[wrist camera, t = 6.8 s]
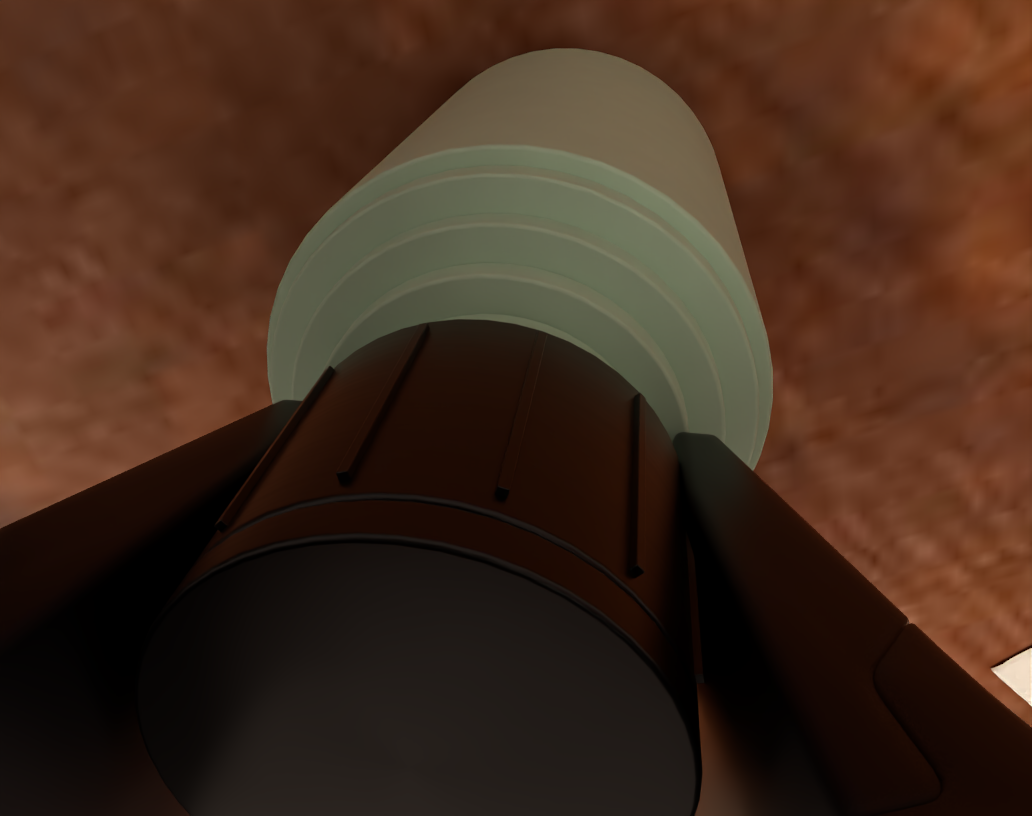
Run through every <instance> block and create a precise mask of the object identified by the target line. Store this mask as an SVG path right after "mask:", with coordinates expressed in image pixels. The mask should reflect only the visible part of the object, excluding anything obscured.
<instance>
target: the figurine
mask: <svg viewBox="0 0 1032 816" xmlns="http://www.w3.org/2000/svg"><path fill="white" fill-rule="evenodd" d="M1020 656H1021V657H1020ZM991 669H992V671H993V672H994V673H995V674H996V675H997V676H998V677H999V678H1000V679H1001V680H1003V681H1004V682H1005V683H1006V684H1007V685H1008V686H1009V687H1010V688H1012V689H1013V690H1014V691H1015V692H1016V693H1017V694H1018V695H1020V696H1021V697H1022V698H1023V699H1024V700H1025V701H1027V702H1028V703H1029V704H1030V706H1032V648H1030V649H1028V650H1026V651H1024V652H1022V654H1021V653H1020V654H1018V655H1017V656H1015V657H1013V658H1011V659H1009V660H1008V661H1006V662H1005V663H1003V664H1002V665H999V666H997V667H994V668H991Z"/></svg>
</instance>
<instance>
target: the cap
mask: <svg viewBox="0 0 1032 816" xmlns="http://www.w3.org/2000/svg"><path fill="white" fill-rule="evenodd" d="M214 527H215V528H216V529H218V530H217V531H216V533H215V534H214V536H213V537H212V538H211V540H210V541H209V543H208V544H207V546H206V547H205V548H204V550H203V551H202V553H201V554H200V556H199V557H198V558H197V560H196V561H195V563H194V564H193V566H192V567H191V569H190V570H189V572H188V573H187V574H186V576H185V577H184V578H183V580H182V581H181V583H180V584H179V586H178V587H177V588H176V590H175V591H174V593H173V594H172V595H171V597H170V598H169V600H168V601H167V603H166V604H165V606H164V607H163V608H162V610H161V611H160V613H159V614H158V616H157V617H156V619H155V620H154V622H153V623H152V625H151V626H150V628H149V631H148V633H147V635H146V638H145V640H144V643H143V645H142V647H141V650H140V654H139V659H138V664H137V670H136V675H135V708H136V713H137V719H138V724H139V730H140V732H141V735H142V738H143V741H144V744H145V746H146V749H147V752H148V755H149V756H150V758H151V760H152V762H153V764H154V766H155V768H156V770H157V771H158V773H159V775H160V777H161V779H162V780H163V782H164V783H165V784H166V786H167V787H168V789H169V790H170V791H171V793H172V794H173V796H174V797H175V798H176V800H177V801H178V802H179V803H180V805H181V806H182V807H183V808H184V809H185V810H186V811H187V812H188V813H189V815H190V816H695V814H696V810H697V807H698V804H699V801H700V794H701V784H702V774H703V772H702V756H701V740H700V728H699V709H698V693H697V683H705V672H704V659H703V645H702V632H701V619H700V605H699V592H698V579H697V569H696V561H695V556H694V553H693V550H692V547H691V544H690V541H689V538H688V535H687V532H686V529H685V521H684V513H683V504H682V494H681V480H680V464H679V460H678V456H677V453H676V451H675V448H674V446H673V444H672V441H671V439H670V437H669V434H668V432H667V431H666V429H665V427H664V426H663V424H662V422H661V421H660V419H659V417H658V416H657V414H656V413H655V411H654V410H653V409H652V407H651V406H650V405H649V404H648V402H647V401H646V398H645V397H644V396H643V395H642V394H641V393H639V392H638V390H636V389H635V388H634V387H633V386H632V385H631V384H630V383H629V382H628V381H627V380H626V379H625V378H624V377H623V376H621V375H620V374H619V373H618V372H617V371H616V370H614V369H613V368H611V367H610V366H609V365H607V364H606V363H604V362H603V361H602V360H600V359H599V358H597V357H596V356H595V355H593V354H591V353H589V352H587V351H586V350H584V349H582V348H580V347H578V346H576V345H575V344H573V343H571V342H569V341H566V340H564V339H561V338H559V337H556V336H554V335H551V334H549V333H546V332H544V331H541V330H537V329H533V328H529V327H526V326H522V325H518V324H514V323H507V322H500V321H492V320H479V319H454V320H445V321H435V322H428V323H421V324H419V325H415V326H411V327H407V328H403V329H400V330H397V331H395V332H392V333H390V334H387V335H385V336H382V337H379V338H377V339H375V340H374V341H372V342H370V343H368V344H367V345H365V346H363V347H361V348H359V349H358V350H356V351H355V352H353V353H352V354H351V355H349V356H348V357H347V358H346V359H344V360H343V361H342V362H340V363H339V364H338V365H337V366H336V367H335V368H334V369H333V368H332V367H331V366H329V367H328V368H326V369H325V370H324V372H323V373H322V375H321V376H320V377H319V379H318V380H317V382H316V383H315V384H314V386H313V387H312V389H311V390H310V391H309V393H308V394H307V396H306V397H305V398H304V400H303V401H302V403H301V404H300V405H299V407H298V408H297V410H296V411H295V412H294V414H293V415H292V417H291V418H290V419H289V421H288V422H287V424H286V425H285V427H284V428H283V429H282V431H281V432H280V434H279V435H278V436H277V438H276V439H275V441H274V442H273V443H272V445H271V446H270V448H269V449H268V450H267V452H266V453H265V455H264V456H263V457H262V459H261V460H260V462H259V463H258V464H257V466H256V467H255V469H254V470H253V471H252V473H251V474H250V476H249V477H248V479H247V480H246V481H245V483H244V484H243V486H242V487H241V488H240V490H239V491H238V493H237V494H236V495H235V497H234V498H233V500H232V501H231V502H230V504H229V505H228V507H227V508H226V509H225V511H224V512H223V514H222V515H221V516H220V518H219V519H218V521H217V522H216V523H215V525H214Z"/></svg>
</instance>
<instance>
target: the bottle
mask: <svg viewBox="0 0 1032 816" xmlns="http://www.w3.org/2000/svg"><path fill="white" fill-rule="evenodd" d="M454 319H479V320H492V321H500V322H507V323H514V324H518V325H522V326H526V327H529V328H533V329H537V330H541V331H544V332H546V333H549V334H551V335H554V336H556V337H559V338H561V339H564V340H566V341H569V342H571V343H573V344H575V345H576V346H578V347H580V348H582V349H584V350H586V351H587V352H589V353H591V354H593V355H595V356H596V357H597V358H599V359H600V360H602V361H603V362H604V363H606V364H607V365H609V366H610V367H611V368H613V369H614V370H616V371H617V372H618V373H619V374H620V375H621V376H623V377H624V378H625V379H626V380H627V381H628V382H629V383H630V384H631V385H632V386H633V387H634V388H635V389H636V390H638V392H639V393H641V394H642V395H643V396H644V397H645V398H646V401H647V402H648V404H649V405H650V406H651V407H652V409H653V410H654V411H655V413H656V414H657V416H658V417H659V419H660V421H661V422H662V424H663V426H664V427H665V429H666V431H667V432H668V434H669V437H670V439H671V441H672V444H673V440H674V437H675V435H676V434H678V433H680V432H688V433H700V434H711V435H715V436H716V437H717V438H719V439H720V440H721V441H722V442H723V443H724V444H725V445H726V446H727V447H728V448H729V449H730V450H731V451H733V452H734V453H735V454H736V455H737V456H738V457H739V458H740V459H741V460H742V461H743V462H744V463H745V464H746V465H747V466H748V467H749V468H750V469H751V470H754V468H755V466H756V464H757V462H758V460H759V458H760V455H761V452H762V449H763V445H764V442H765V439H766V436H767V432H768V429H769V422H770V416H771V409H772V402H773V367H772V361H771V354H770V348H769V342H768V336H767V333H766V329H765V326H764V322H763V319H762V315H761V312H760V308H759V305H758V301H757V298H756V294H755V291H754V287H753V284H752V280H751V277H750V273H749V270H748V266H747V263H746V259H745V256H744V252H743V248H742V245H741V241H740V238H739V234H738V231H737V227H736V224H735V220H734V217H733V213H732V210H731V206H730V203H729V199H728V196H727V192H726V189H725V185H724V182H723V178H722V175H721V171H720V168H719V165H718V161H717V158H716V155H715V152H714V149H713V146H712V144H711V142H710V140H709V138H708V136H707V134H706V132H705V130H704V128H703V126H702V125H701V123H700V122H699V120H698V119H697V117H696V116H695V114H694V113H693V111H692V110H691V109H690V108H689V106H688V105H687V104H686V103H685V102H684V101H683V100H682V99H681V97H680V96H679V95H678V94H677V93H676V92H675V91H674V90H672V89H671V88H670V87H669V86H668V85H666V84H665V83H664V82H663V81H662V80H661V79H659V78H658V77H656V76H654V75H653V74H651V73H650V72H648V71H647V70H645V69H643V68H642V67H640V66H638V65H635V64H633V63H631V62H629V61H626V60H624V59H622V58H619V57H616V56H613V55H609V54H606V53H602V52H598V51H591V50H584V49H577V48H554V49H547V50H540V51H532V52H529V53H525V54H522V55H519V56H515V57H512V58H509V59H507V60H505V61H503V62H500V63H498V64H496V65H494V66H491V67H490V68H488V69H487V70H485V71H483V72H482V73H480V74H479V75H477V76H475V77H474V78H472V79H471V80H470V81H469V82H468V83H466V84H465V85H464V86H463V87H462V88H461V89H459V90H458V91H457V92H456V93H455V94H454V95H453V96H452V97H450V98H449V99H448V100H447V101H446V102H445V103H444V104H443V105H442V106H441V107H440V108H439V109H437V110H436V111H435V112H434V113H433V114H432V115H431V116H430V117H429V118H428V119H427V120H425V121H424V122H423V123H422V124H421V125H420V126H419V127H418V128H417V129H416V130H415V131H414V132H412V133H411V134H410V135H409V136H408V137H407V138H406V139H405V140H404V141H403V142H402V143H401V144H399V145H398V146H397V147H396V148H395V149H394V150H393V151H392V152H391V153H390V154H389V155H387V156H386V157H385V158H384V159H383V160H382V161H381V162H380V163H379V164H378V165H377V166H376V167H374V168H373V169H372V170H371V171H370V172H369V173H368V174H367V175H366V176H365V177H364V178H363V179H361V180H360V181H359V182H358V183H357V184H356V185H355V186H354V187H353V188H352V189H351V190H349V191H348V192H347V193H346V194H345V195H344V196H343V197H342V198H341V199H340V200H339V201H338V202H336V203H335V204H334V205H333V206H332V207H331V208H330V209H329V210H328V211H327V212H326V213H325V214H324V215H323V216H322V218H321V219H320V220H319V221H318V222H317V223H316V224H315V226H314V227H313V228H312V229H311V230H310V231H309V232H308V234H307V235H306V236H305V238H304V239H303V241H302V243H301V244H300V246H299V247H298V249H297V250H296V252H295V254H294V255H293V257H292V258H291V260H290V262H289V264H288V266H287V269H286V271H285V273H284V275H283V278H282V280H281V282H280V284H279V287H278V289H277V293H276V297H275V301H274V304H273V308H272V312H271V316H270V322H269V331H268V340H267V366H268V380H269V386H270V391H271V397H272V403H273V404H275V403H277V402H279V401H282V400H298V401H303V400H304V398H305V397H306V396H307V394H308V393H309V391H310V390H311V389H312V387H313V386H314V384H315V383H316V382H317V380H318V379H319V377H320V376H321V375H322V373H323V372H324V370H325V369H326V368H328V367H329V366H331V367H332V368H333V369H334V368H335V367H336V366H337V365H338V364H339V363H340V362H342V361H343V360H344V359H346V358H347V357H348V356H349V355H351V354H352V353H353V352H355V351H356V350H358V349H359V348H361V347H363V346H365V345H367V344H368V343H370V342H372V341H374V340H375V339H377V338H379V337H382V336H385V335H387V334H390V333H392V332H395V331H397V330H400V329H403V328H407V327H411V326H415V325H419V324H421V323H428V322H435V321H445V320H454Z"/></svg>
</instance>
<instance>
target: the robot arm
mask: <svg viewBox="0 0 1032 816" xmlns="http://www.w3.org/2000/svg"><path fill="white" fill-rule="evenodd" d="M301 403H302V401H298V400H282V401H279V402H277V403H275V404H272V405H270V406H268V407H266V408H264V409H261V410H259V411H257V412H255V413H253V414H250V415H248V416H246V417H244V418H242V419H239V420H237V421H235V422H233V423H231V424H228V425H226V426H224V427H222V428H220V429H218V430H215V431H213V432H211V433H209V434H207V435H204V436H202V437H200V438H198V439H196V440H193V441H191V442H189V443H187V444H185V445H182V446H180V447H178V448H176V449H174V450H171V451H169V452H167V453H165V454H163V455H160V456H158V457H156V458H154V459H152V460H149V461H147V462H145V463H143V464H141V465H139V466H136V467H134V468H132V469H130V470H128V471H125V472H123V473H121V474H119V475H117V476H114V477H112V478H110V479H108V480H106V481H103V482H101V483H99V484H97V485H95V486H92V487H90V488H88V489H86V490H84V491H81V492H79V493H77V494H75V495H73V496H71V497H68V498H66V499H64V500H62V501H60V502H57V503H55V504H53V505H51V506H49V507H46V508H44V509H42V510H40V511H38V512H35V513H33V514H31V515H29V516H27V517H24V518H22V519H20V520H18V521H16V522H13V523H11V524H9V525H7V526H5V527H2V528H1V529H0V816H190V815H189V813H188V812H187V811H186V810H185V809H184V808H183V807H182V806H181V805H180V803H179V802H178V801H177V800H176V798H175V797H174V796H173V794H172V793H171V791H170V790H169V789H168V787H167V786H166V784H165V783H164V782H163V780H162V779H161V777H160V775H159V773H158V771H157V770H156V768H155V766H154V764H153V762H152V760H151V758H150V756H149V755H148V752H147V749H146V746H145V744H144V741H143V738H142V735H141V732H140V730H139V724H138V719H137V713H136V708H135V675H136V670H137V664H138V659H139V654H140V650H141V647H142V645H143V643H144V640H145V638H146V635H147V633H148V631H149V628H150V626H151V625H152V623H153V622H154V620H155V619H156V617H157V616H158V614H159V613H160V611H161V610H162V608H163V607H164V606H165V604H166V603H167V601H168V600H169V598H170V597H171V595H172V594H173V593H174V591H175V590H176V588H177V587H178V586H179V584H180V583H181V581H182V580H183V578H184V577H185V576H186V574H187V573H188V572H189V570H190V569H191V567H192V566H193V564H194V563H195V561H196V560H197V558H198V557H199V556H200V554H201V553H202V551H203V550H204V548H205V547H206V546H207V544H208V543H209V541H210V540H211V538H212V537H213V536H214V534H215V533H216V531H217V530H218V529H216V528H215V527H214V525H215V523H216V522H217V521H218V519H219V518H220V516H221V515H222V514H223V512H224V511H225V509H226V508H227V507H228V505H229V504H230V502H231V501H232V500H233V498H234V497H235V495H236V494H237V493H238V491H239V490H240V488H241V487H242V486H243V484H244V483H245V481H246V480H247V479H248V477H249V476H250V474H251V473H252V471H253V470H254V469H255V467H256V466H257V464H258V463H259V462H260V460H261V459H262V457H263V456H264V455H265V453H266V452H267V450H268V449H269V448H270V446H271V445H272V443H273V442H274V441H275V439H276V438H277V436H278V435H279V434H280V432H281V431H282V429H283V428H284V427H285V425H286V424H287V422H288V421H289V419H290V418H291V417H292V415H293V414H294V412H295V411H296V410H297V408H298V407H299V405H300V404H301ZM673 446H674V448H675V451H676V453H677V456H678V460H679V464H680V480H681V494H682V504H683V513H684V521H685V529H686V532H687V535H688V538H689V541H690V544H691V547H692V550H693V553H694V556H695V561H696V569H697V579H698V592H699V605H700V619H701V632H702V645H703V659H704V672H705V683H697V693H698V709H699V728H700V740H701V756H702V772H703V774H702V784H701V794H700V801H699V804H698V807H697V810H696V814H695V816H1032V728H1031V727H1030V726H1029V725H1028V724H1027V723H1025V722H1024V721H1023V720H1022V719H1021V718H1019V717H1018V716H1017V715H1016V714H1014V713H1013V712H1012V711H1011V710H1010V709H1008V708H1007V707H1006V706H1005V705H1004V704H1002V703H1001V702H1000V701H999V700H998V699H996V698H995V697H994V696H993V695H992V694H990V693H989V692H988V691H987V690H986V689H985V688H984V687H982V686H981V685H980V684H979V683H978V682H977V681H976V680H975V679H974V678H972V677H971V676H970V675H969V674H968V673H967V672H966V671H965V670H964V669H962V668H961V667H960V666H959V665H958V664H957V663H956V662H955V661H954V660H953V659H951V658H950V657H949V656H948V655H947V654H946V653H945V652H944V651H943V650H941V649H940V648H939V647H938V646H937V645H936V644H935V643H934V642H933V641H932V640H931V639H930V638H929V637H928V636H927V635H926V634H925V633H924V632H923V631H921V630H920V629H919V628H918V627H917V626H916V625H915V624H912V623H910V624H909V620H908V618H907V617H906V616H905V615H904V614H903V613H902V612H901V611H900V610H899V609H898V608H897V607H896V606H895V605H894V604H893V603H892V602H890V601H889V600H888V599H887V598H886V597H885V596H884V595H883V594H882V593H881V592H880V591H879V590H878V589H877V588H876V587H875V586H874V585H873V584H872V583H870V582H869V581H868V580H867V579H866V578H865V577H864V576H863V575H862V574H861V573H860V572H859V571H858V570H857V569H856V568H855V567H854V566H853V565H852V564H850V563H849V562H848V561H847V560H846V559H845V558H844V557H843V556H842V555H841V554H840V553H839V552H838V551H837V550H836V549H835V548H834V547H833V546H832V545H830V544H829V543H828V542H827V541H826V540H825V539H824V538H823V537H822V536H821V535H820V534H819V533H818V532H817V531H816V530H815V529H814V528H813V527H812V526H810V525H809V524H808V523H807V522H806V521H805V520H804V519H803V518H802V517H801V516H800V515H799V514H798V513H797V512H796V511H795V510H794V509H793V508H792V507H790V506H789V505H788V504H787V503H786V502H785V501H784V500H783V499H782V498H781V497H780V496H779V495H778V494H777V493H776V492H775V491H774V490H773V489H771V488H770V487H769V486H768V485H767V484H766V483H765V482H764V481H763V480H762V479H761V478H760V477H759V476H758V475H757V474H756V473H755V472H754V471H753V470H751V469H750V468H749V467H748V466H747V465H746V464H745V463H744V462H743V461H742V460H741V459H740V458H739V457H738V456H737V455H736V454H735V453H734V452H733V451H731V450H730V449H729V448H728V447H727V446H726V445H725V444H724V443H723V442H722V441H721V440H720V439H719V438H717V437H716V436H715V435H711V434H700V433H688V432H680V433H678V434H676V435H675V437H674V440H673Z"/></svg>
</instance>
